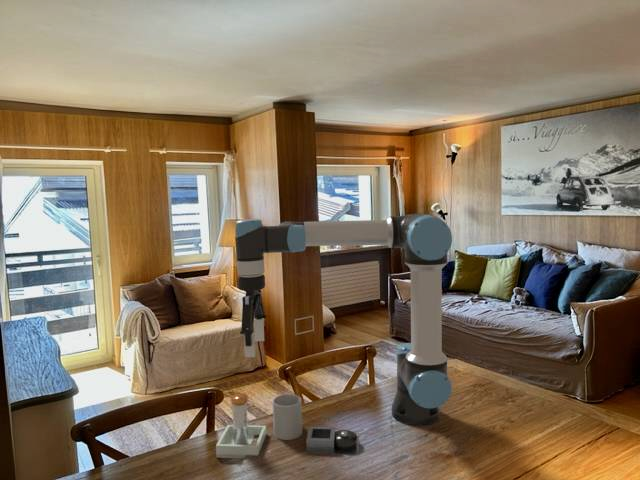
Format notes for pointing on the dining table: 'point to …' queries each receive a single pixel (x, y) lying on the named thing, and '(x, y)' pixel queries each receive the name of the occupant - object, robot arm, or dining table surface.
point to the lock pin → (240, 419)
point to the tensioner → (331, 441)
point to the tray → (229, 450)
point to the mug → (287, 417)
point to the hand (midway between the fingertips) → (255, 348)
